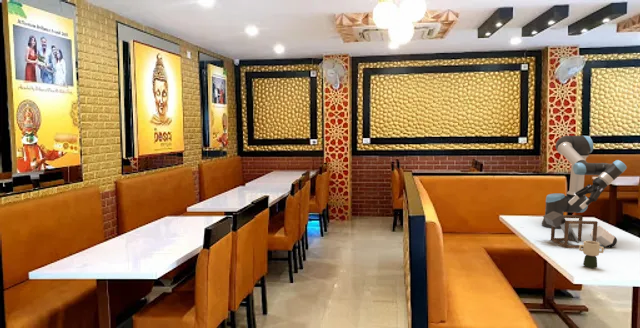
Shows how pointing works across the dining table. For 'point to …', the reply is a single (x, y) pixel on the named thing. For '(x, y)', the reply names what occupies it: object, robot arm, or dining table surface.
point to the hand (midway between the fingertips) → (575, 205)
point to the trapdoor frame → (580, 222)
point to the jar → (605, 237)
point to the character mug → (591, 253)
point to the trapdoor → (560, 224)
